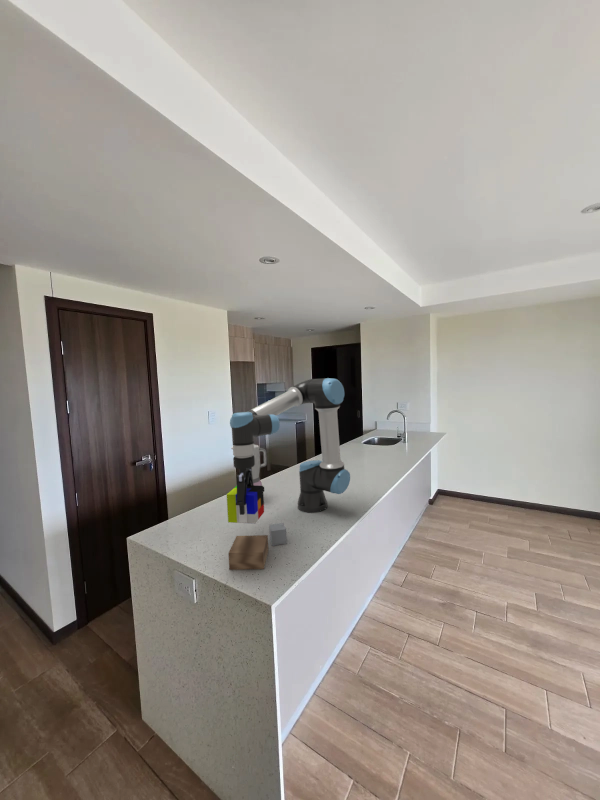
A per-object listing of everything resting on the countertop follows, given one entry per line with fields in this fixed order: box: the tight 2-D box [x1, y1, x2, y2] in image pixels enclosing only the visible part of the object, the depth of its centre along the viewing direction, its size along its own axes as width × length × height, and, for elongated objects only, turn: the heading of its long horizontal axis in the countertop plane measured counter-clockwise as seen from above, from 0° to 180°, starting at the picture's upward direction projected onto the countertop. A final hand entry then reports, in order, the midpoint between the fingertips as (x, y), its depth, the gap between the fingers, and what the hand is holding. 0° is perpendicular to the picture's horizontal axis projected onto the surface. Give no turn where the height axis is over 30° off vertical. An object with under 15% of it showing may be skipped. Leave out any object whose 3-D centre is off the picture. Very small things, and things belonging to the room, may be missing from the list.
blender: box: [252, 444, 268, 493], centre depth 169 cm, size 16×12×32 cm
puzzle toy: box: [226, 485, 265, 525], centre depth 115 cm, size 10×10×10 cm
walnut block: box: [228, 534, 269, 571], centre depth 116 cm, size 12×12×6 cm
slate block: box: [268, 522, 288, 547], centre depth 129 cm, size 6×6×6 cm
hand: (246, 515), depth 116 cm, fingers closed on puzzle toy, 11 cm apart
